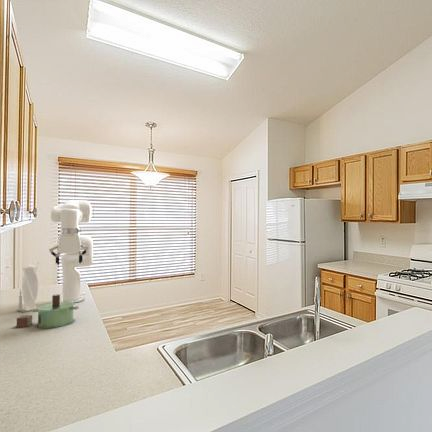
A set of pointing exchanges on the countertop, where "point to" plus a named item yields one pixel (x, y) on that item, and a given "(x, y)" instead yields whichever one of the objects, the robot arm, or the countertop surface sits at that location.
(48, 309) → the pot lid
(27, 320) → the block
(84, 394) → the countertop surface
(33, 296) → the skyscraper
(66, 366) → the countertop surface
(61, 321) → the pot
